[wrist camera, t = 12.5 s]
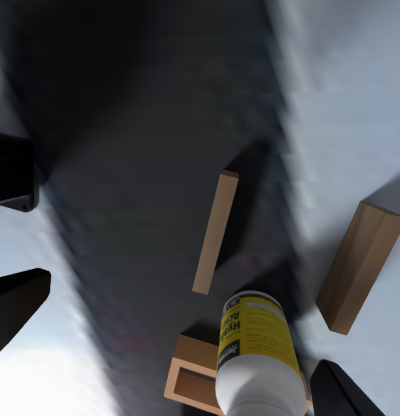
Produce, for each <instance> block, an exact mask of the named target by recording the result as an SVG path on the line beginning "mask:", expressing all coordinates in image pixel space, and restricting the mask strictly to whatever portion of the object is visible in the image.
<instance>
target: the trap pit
mask: <svg viewBox="0 0 400 416" xmlns="http://www.w3.org/2000/svg"><path fill="white" fill-rule="evenodd" d="M218 351H219V346H216V345H213V344H210V343H207V342H203V341H200V340H197V339H194V338H191V337H187V336H184V335H181V334H180V335H179V338H178V342H177V345H176V348H175V352H174V355H173V358H172V363H171V367H170V371H169V375H168V380H167V384H166V388H165V392H164V397H167V398H170V399H173V400H176V401H179V402H182V403H185V404H188V405H191V406H193V407H196V408H199V409H202V410H205V411H208V412H211V413H214V414H217V415H220V416H225V414H224V413H223V411H222V410H221V408H220V406H219V404H218V401H217V397H216V390H215V386H216V373H217V362H218ZM300 373H301V377H302V381H303V384H304V389H305V394H306V409H305V413H306V411H307V409H308V407H309V405H310V403H311V398H310V395H309V391H308V388H307V385H306V381H305V378H304V374H303V372H300ZM305 413H304V415H305ZM304 415H303V416H304Z"/></svg>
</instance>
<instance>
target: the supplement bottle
mask: <svg viewBox="0 0 400 416" xmlns="http://www.w3.org/2000/svg"><path fill="white" fill-rule="evenodd" d="M215 390H216V397H217V401H218V404H219V406H220V408H221V410H222V411H223V413H224V414H225V416H303V415H304V413H305V409H306V394H305V389H304V384H303V381H302V377H301V373H300V370H299V366H298V362H297V358H296V355H295V351H294V347H293V344H292V340H291V336H290V332H289V329H288V325H287V321H286V318H285V315H284V312H283V309H282V307H281V306H280V304H279V303H278V302H277V301H276V300H275V299H274V298H273V297H271V296H270V295H268V294H266V293H263V292H260V291H242V292H239V293H237V294H235V295H233V296H232V297H231V298H230V299H229V300H228V301H227V302H226V304H225V306H224V309H223V314H222V323H221V332H220V341H219V351H218V362H217V373H216V386H215Z"/></svg>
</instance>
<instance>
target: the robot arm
mask: <svg viewBox="0 0 400 416" xmlns="http://www.w3.org/2000/svg"><path fill="white" fill-rule="evenodd" d="M25 144H26V146H25ZM0 205H1V206H4V207H8V208H11V209H15V210H19V211H22V212H30V211H32V210H33V208H34V185H33V144H32V142H31V141H30V140H28V139H25V138H21V137H16V136H12V135H8V134H4V133H0ZM50 284H51V273H50V272H49V271H47V270H44V269H41V268H35V269H31V270H27V271H23V272H19V273H15V274H11V275H7V276H3V277H0V351H1V350H2V349H3V348H4V347H5V346H6V345H7V344H8V343H9V342H10V341H11V340H12V339H13V338H14V336H15V335H16V334H17V333H18V332H19V331H20V329H21V328H22V327H23V326H24V325H25V324H26V322H27V321H28V320H29V319H30V318H31V317H32V315H33V314H34V313H35V312H36V311H37V310H38V308H39V307H40V306H41V305H42V304H43V303H44V301H45V300H46V299H47V298H48V296H49V293H50ZM310 389H311V395H312V402H313V409H314V415H315V416H385V415H384V414H383V413H382V411H381V410H380V409H379V408H378V407H377V406H376V405H375V404H374V403H373V402H372V401H371V400H370V399H369V397H368V396H367V395H366V394H365V393H364V392H363V391H362V390H361V389H360V388H359V387H358V386H357V384H356V383H355V382H354V381H353V380H352V379H351V378H350V377H349V376H348V375H347V374H346V373H345V371H344V370H343V369H342V368H341V367H340V366H339V365H338V364H337V363H335V362H332V361H328V360H325V359H322V360H321V361H320V362H319V364H318V365H317V367H316V369H315V371H314V373H313V374H312V376H311V379H310Z"/></svg>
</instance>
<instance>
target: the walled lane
mask: <svg viewBox="0 0 400 416" xmlns="http://www.w3.org/2000/svg"><path fill="white" fill-rule="evenodd" d="M238 179H239V175H238V173H235V172H231V171H227V170H223V171H222V172H221V174H220V178H219V182H218V186H217V190H216V194H215V198H214V202H213V207H212V211H211V215H210V219H209V223H208V227H207V231H206V236H205V240H204V244H203V248H202V252H201V256H200V260H199V264H198V269H197V273H196V277H195V281H194V285H193V289H192V291H195V292H199V293H202V294H206V295H208V292H209V288H210V284H211V280H212V277H213V273H214V269H215V265H216V262H217V258H218V254H219V250H220V247H221V243H222V239H223V236H224V232H225V228H226V224H227V221H228V217H229V213H230V209H231V206H232V202H233V198H234V194H235V191H236V187H237V183H238ZM399 234H400V215H398V214H395V213H393V212H391V211H388V210H386V209H383V208H381V207H379V206H376V205H371V204H367V203H363V202H360V203H359V206H358V208H357V210H356V212H355V215H354V217H353V219H352V221H351V224H350V226H349V228H348V230H347V233H346V235H345V237H344V239H343V242H342V244H341V246H340V248H339V251H338V253H337V255H336V257H335V260H334V262H333V264H332V266H331V269H330V271H329V273H328V276H327V278H326V280H325V282H324V285H323V287H322V289H321V291H320V294H319V296H318V298H317V300H316V305H317V306H318V308H319V310H320V312H321V314H322V316H323V318H324V320H325V322H326V324H327V326H328V328H329V330H330V331H333V332H337V333H340V334H344V335H347V334H348V332H349V330H350V328H351V327H352V325H353V323H354V321H355V319H356V317H357V315H358V313H359V311H360V309H361V307H362V305H363V303H364V302H365V300H366V298H367V296H368V294H369V292H370V290H371V288H372V286H373V284H374V282H375V280H376V279H377V277H378V275H379V273H380V271H381V269H382V267H383V265H384V263H385V261H386V259H387V257H388V255H389V254H390V252H391V250H392V248H393V246H394V244H395V242H396V240H397V238H398V236H399Z"/></svg>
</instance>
